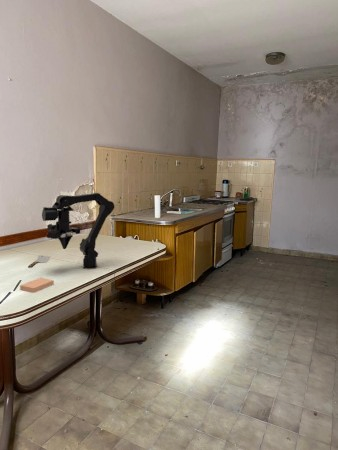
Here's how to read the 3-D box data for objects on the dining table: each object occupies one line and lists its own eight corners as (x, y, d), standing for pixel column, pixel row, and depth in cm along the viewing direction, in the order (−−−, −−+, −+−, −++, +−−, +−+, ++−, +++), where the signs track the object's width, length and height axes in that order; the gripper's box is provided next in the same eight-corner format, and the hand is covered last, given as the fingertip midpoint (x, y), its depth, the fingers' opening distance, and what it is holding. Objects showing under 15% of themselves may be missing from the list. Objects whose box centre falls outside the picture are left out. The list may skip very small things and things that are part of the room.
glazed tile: (40, 277, 155) (20, 285, 145) (53, 280, 152) (33, 288, 141) (40, 282, 156) (20, 290, 145) (53, 285, 153) (33, 293, 142)
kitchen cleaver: (42, 267, 178) (23, 265, 177) (42, 268, 178) (23, 267, 177) (55, 256, 202) (39, 255, 201) (55, 257, 202) (39, 256, 201)
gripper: (64, 216, 181) (65, 243, 183) (38, 220, 164) (39, 250, 166) (80, 218, 176) (81, 246, 178) (54, 222, 159) (55, 253, 162)
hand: (64, 248), depth 171 cm, fingers closed
